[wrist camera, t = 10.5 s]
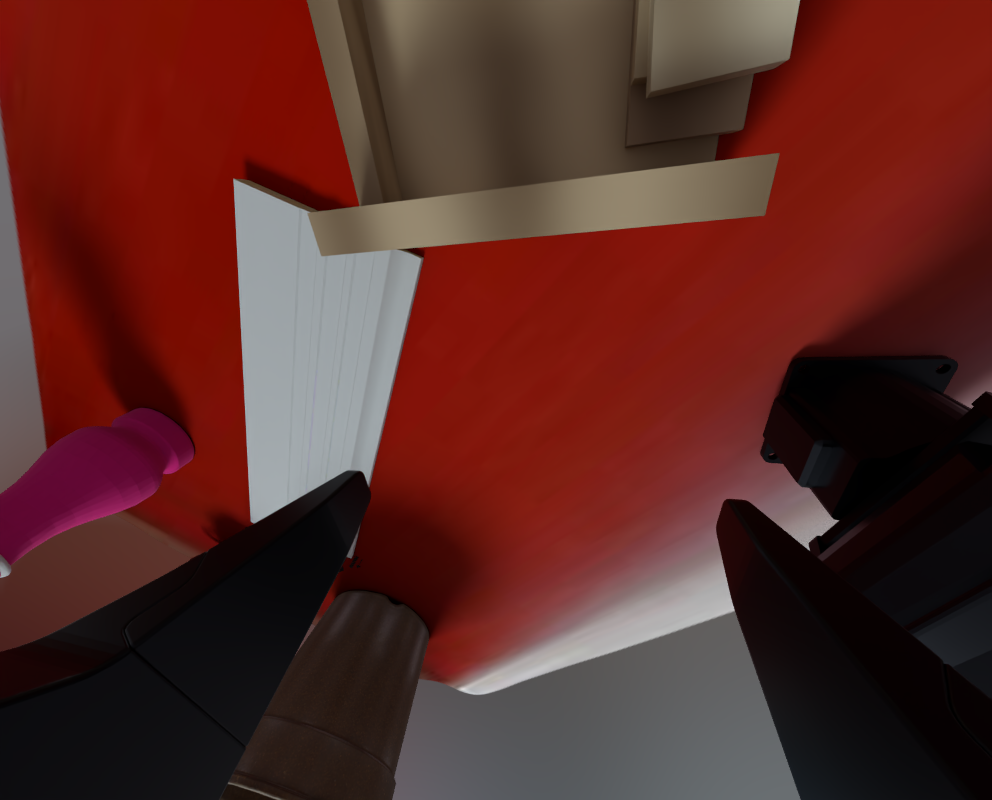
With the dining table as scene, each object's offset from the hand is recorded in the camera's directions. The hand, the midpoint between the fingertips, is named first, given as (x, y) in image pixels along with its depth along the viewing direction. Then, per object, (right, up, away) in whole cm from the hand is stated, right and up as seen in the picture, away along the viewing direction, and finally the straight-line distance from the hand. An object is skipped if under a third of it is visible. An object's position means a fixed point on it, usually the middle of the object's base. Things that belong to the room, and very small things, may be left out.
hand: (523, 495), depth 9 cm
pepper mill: (-31, -1, +24) cm, 39 cm away
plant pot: (-14, -24, +33) cm, 43 cm away
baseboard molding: (-14, +1, +20) cm, 24 cm away
